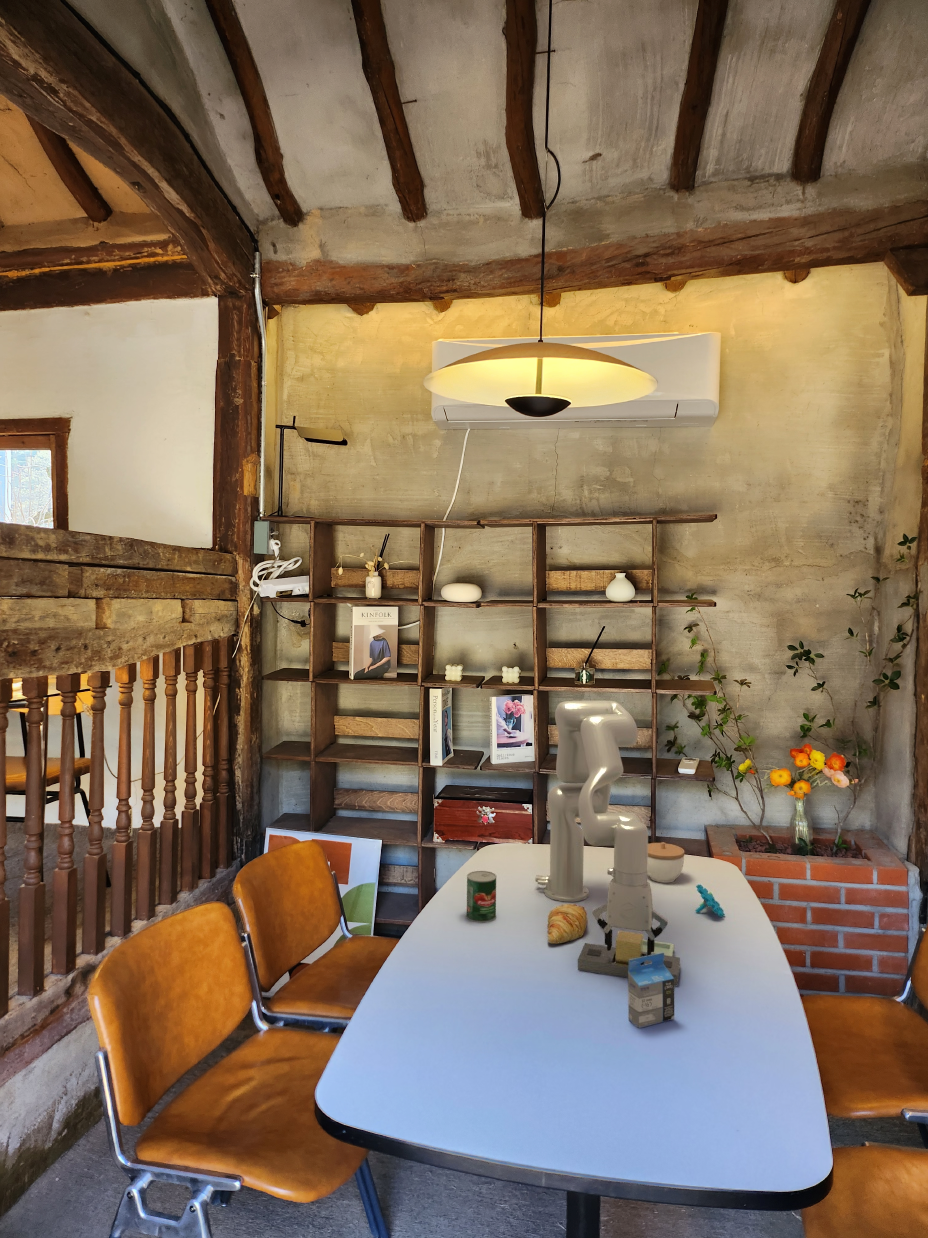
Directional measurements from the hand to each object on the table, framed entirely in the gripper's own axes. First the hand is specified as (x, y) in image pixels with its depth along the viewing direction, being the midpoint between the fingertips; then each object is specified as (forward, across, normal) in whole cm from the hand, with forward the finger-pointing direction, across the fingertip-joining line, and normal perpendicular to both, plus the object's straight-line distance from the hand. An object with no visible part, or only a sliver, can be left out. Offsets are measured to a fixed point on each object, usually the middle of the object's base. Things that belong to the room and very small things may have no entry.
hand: (629, 951), depth 180 cm
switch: (+4, 0, 0) cm, 4 cm away
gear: (+4, +16, +41) cm, 44 cm away
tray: (+4, +3, +10) cm, 11 cm away
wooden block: (+4, 0, 0) cm, 4 cm away
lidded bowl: (+4, +2, +64) cm, 64 cm away
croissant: (+5, -18, +15) cm, 24 cm away
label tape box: (+4, +7, -20) cm, 22 cm away
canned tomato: (+4, -41, +16) cm, 44 cm away
